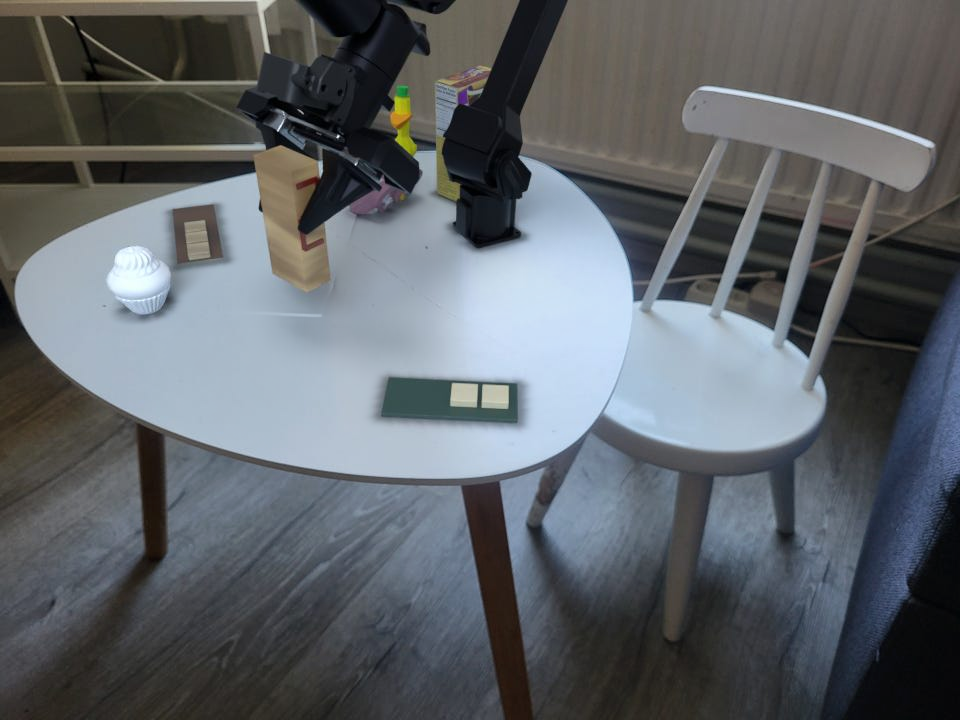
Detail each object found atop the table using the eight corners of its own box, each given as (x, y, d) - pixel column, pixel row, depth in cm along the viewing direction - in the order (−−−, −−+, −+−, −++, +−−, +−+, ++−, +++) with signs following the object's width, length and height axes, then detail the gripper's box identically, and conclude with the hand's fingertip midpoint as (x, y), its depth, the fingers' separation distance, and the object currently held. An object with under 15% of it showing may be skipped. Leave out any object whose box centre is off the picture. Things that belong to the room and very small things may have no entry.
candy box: (476, 173, 107) (480, 63, 97) (499, 182, 104) (506, 71, 95) (434, 193, 101) (433, 79, 92) (457, 203, 99) (459, 87, 90)
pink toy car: (369, 232, 95) (386, 193, 90) (343, 209, 96) (359, 169, 90) (414, 204, 102) (433, 166, 97) (390, 182, 102) (407, 143, 97)
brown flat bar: (173, 211, 95) (170, 203, 94) (214, 206, 96) (212, 198, 95) (178, 266, 84) (175, 257, 84) (223, 260, 86) (222, 251, 85)
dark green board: (381, 416, 66) (380, 406, 65) (388, 380, 70) (388, 370, 69) (516, 423, 66) (517, 413, 65) (516, 386, 70) (517, 376, 69)
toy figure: (410, 185, 103) (408, 98, 96) (385, 182, 103) (380, 95, 96) (420, 165, 108) (418, 81, 101) (396, 163, 108) (393, 79, 101)
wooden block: (296, 262, 74) (280, 144, 66) (331, 280, 71) (319, 161, 64) (272, 273, 72) (252, 154, 64) (307, 293, 69) (291, 171, 62)
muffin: (149, 284, 81) (133, 227, 77) (191, 300, 79) (177, 242, 75) (102, 312, 77) (82, 252, 73) (145, 330, 75) (127, 270, 70)
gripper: (236, -10, 64) (150, 150, 64) (391, 34, 55) (291, 220, 55) (316, 65, 74) (241, 204, 74) (458, 113, 65) (374, 271, 65)
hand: (281, 222), depth 67 cm, fingers closed on wooden block, 5 cm apart
